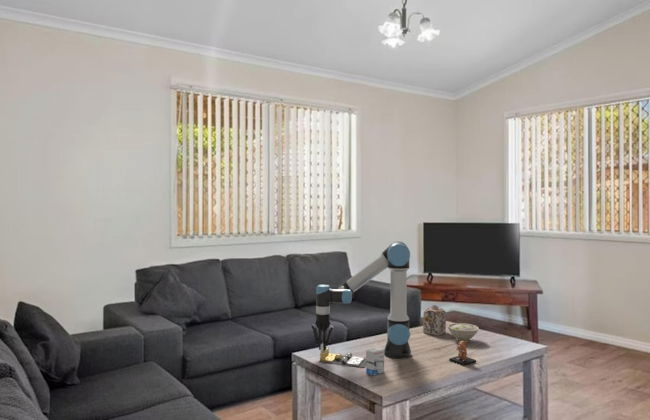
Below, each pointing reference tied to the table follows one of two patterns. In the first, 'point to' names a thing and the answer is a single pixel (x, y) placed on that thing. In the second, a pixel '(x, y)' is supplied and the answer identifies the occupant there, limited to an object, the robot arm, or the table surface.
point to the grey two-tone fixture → (346, 362)
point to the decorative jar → (434, 320)
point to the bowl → (462, 331)
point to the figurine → (462, 355)
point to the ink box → (374, 361)
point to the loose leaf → (329, 356)
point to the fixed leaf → (352, 360)
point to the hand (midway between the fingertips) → (322, 355)
